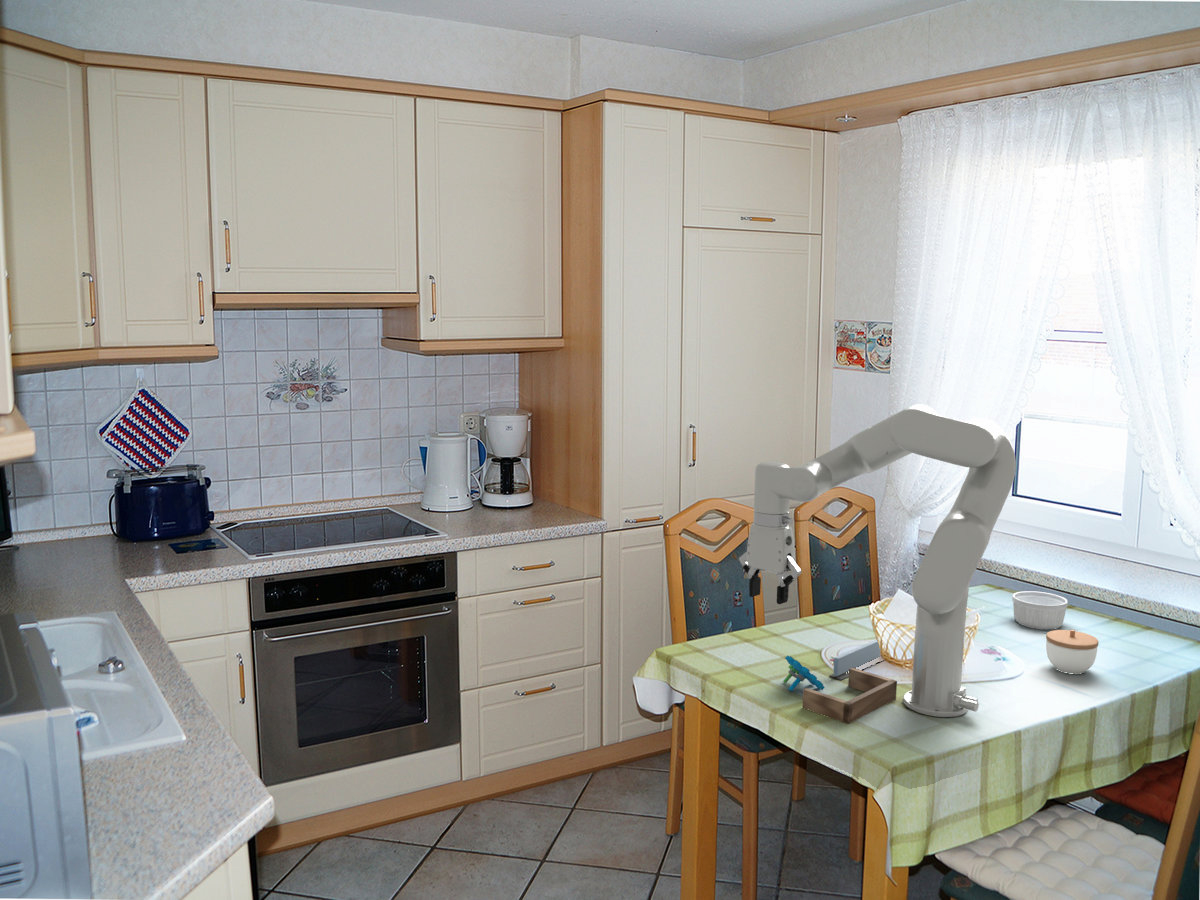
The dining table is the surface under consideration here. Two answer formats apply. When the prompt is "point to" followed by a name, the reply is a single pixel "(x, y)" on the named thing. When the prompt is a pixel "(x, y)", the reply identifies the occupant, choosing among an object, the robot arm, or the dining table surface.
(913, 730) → the dining table surface
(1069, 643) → the lidded jar
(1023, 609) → the ramekin
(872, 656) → the gate
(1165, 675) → the dining table surface
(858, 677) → the frame
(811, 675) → the blue toy model
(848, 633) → the dining table surface
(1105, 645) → the dining table surface
